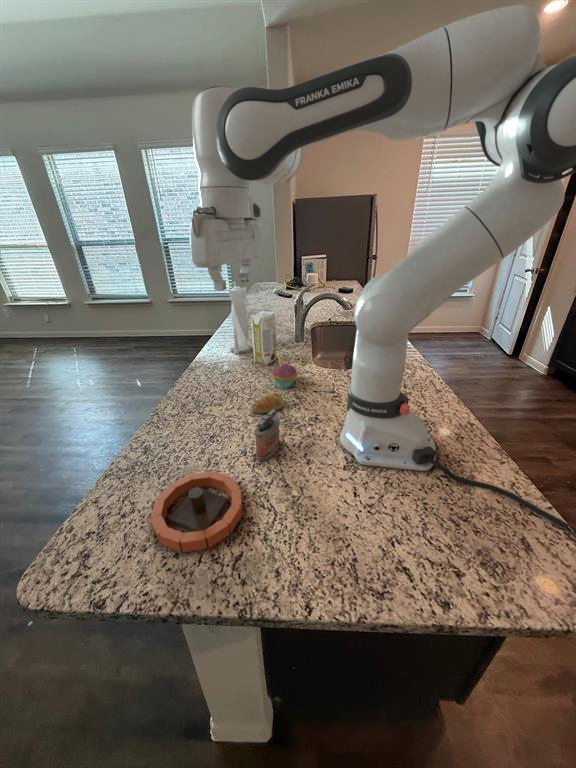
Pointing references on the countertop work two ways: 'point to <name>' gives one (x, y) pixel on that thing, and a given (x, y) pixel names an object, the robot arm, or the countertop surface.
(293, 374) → the cupcake
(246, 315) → the skyscraper
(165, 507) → the ring
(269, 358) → the juice carton
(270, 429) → the lighter
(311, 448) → the countertop surface
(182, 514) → the peg stand
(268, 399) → the pastry
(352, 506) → the countertop surface
